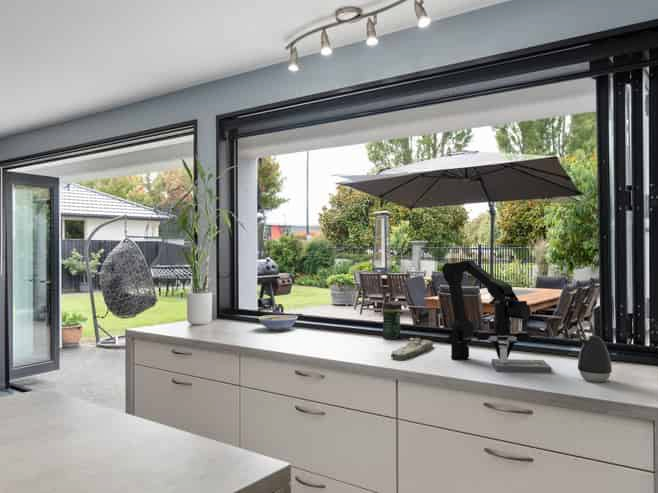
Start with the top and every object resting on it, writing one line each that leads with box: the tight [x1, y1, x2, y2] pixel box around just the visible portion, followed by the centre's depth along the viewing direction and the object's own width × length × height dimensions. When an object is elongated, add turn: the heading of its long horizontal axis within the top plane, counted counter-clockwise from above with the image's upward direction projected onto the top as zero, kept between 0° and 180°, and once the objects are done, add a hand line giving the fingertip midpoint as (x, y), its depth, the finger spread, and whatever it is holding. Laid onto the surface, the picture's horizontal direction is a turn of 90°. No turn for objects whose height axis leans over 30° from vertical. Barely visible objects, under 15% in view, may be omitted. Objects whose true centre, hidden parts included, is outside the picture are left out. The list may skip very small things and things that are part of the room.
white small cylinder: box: [498, 345, 507, 363], centre depth 189 cm, size 3×4×6 cm, turn 170°
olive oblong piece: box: [390, 337, 434, 361], centre depth 220 cm, size 35×5×10 cm
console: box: [491, 358, 552, 374], centre depth 188 cm, size 19×12×2 cm, turn 80°
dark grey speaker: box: [577, 335, 613, 383], centre depth 170 cm, size 10×10×15 cm
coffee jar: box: [382, 301, 402, 340], centre depth 256 cm, size 10×8×19 cm
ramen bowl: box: [258, 313, 303, 332], centre depth 289 cm, size 25×23×8 cm
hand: (502, 358), depth 189 cm, fingers closed on white small cylinder, 2 cm apart
